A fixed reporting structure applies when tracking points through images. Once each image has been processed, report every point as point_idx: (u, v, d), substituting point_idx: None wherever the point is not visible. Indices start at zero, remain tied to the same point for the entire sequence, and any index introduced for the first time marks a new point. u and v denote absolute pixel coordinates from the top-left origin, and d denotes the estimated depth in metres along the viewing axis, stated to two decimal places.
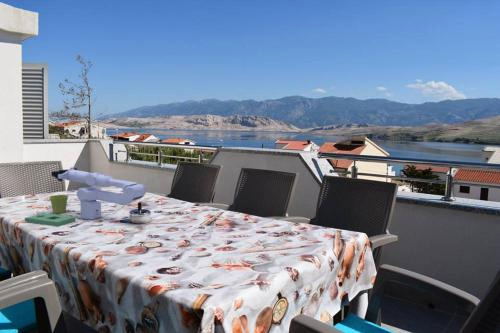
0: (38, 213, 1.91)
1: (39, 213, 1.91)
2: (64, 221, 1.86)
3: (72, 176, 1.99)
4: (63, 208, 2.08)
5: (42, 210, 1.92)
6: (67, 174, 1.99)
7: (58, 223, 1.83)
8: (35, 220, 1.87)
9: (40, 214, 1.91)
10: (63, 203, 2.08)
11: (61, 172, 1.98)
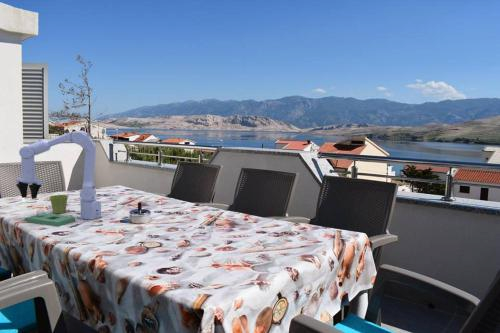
0: (38, 213, 1.91)
1: (39, 213, 1.91)
2: (64, 221, 1.86)
3: (33, 173, 1.92)
4: (63, 208, 2.08)
5: (42, 210, 1.92)
6: (32, 180, 1.92)
7: (58, 223, 1.83)
8: (35, 220, 1.87)
9: (40, 214, 1.91)
10: (63, 203, 2.08)
11: (32, 184, 1.90)
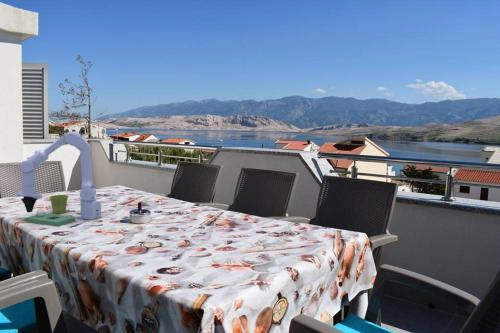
0: (38, 213, 1.91)
1: (39, 213, 1.91)
2: (64, 221, 1.86)
3: (33, 187, 1.93)
4: (63, 208, 2.08)
5: (42, 210, 1.92)
6: (32, 194, 1.92)
7: (58, 223, 1.83)
8: (35, 220, 1.87)
9: (40, 214, 1.91)
10: (63, 203, 2.08)
11: (28, 198, 1.92)
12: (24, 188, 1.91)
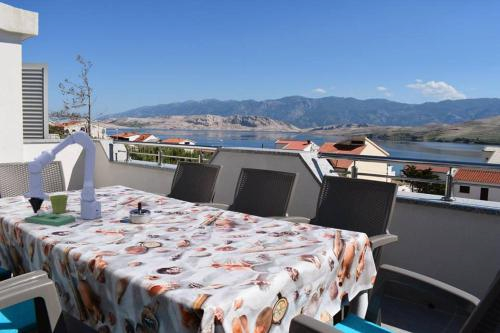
0: (38, 213, 1.91)
1: (40, 213, 1.91)
2: (64, 221, 1.86)
3: (40, 188, 1.91)
4: (63, 208, 2.08)
5: (42, 210, 1.92)
6: (39, 195, 1.91)
7: (58, 223, 1.83)
8: (35, 220, 1.87)
9: (40, 214, 1.91)
10: (63, 203, 2.08)
11: (35, 199, 1.91)
12: (31, 189, 1.89)
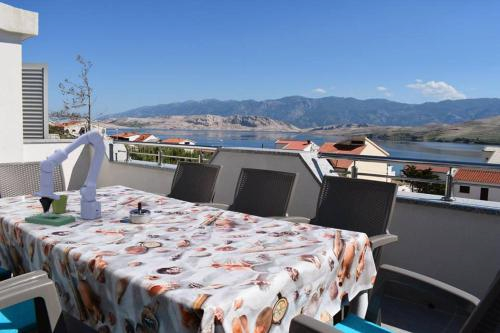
0: (42, 214, 1.90)
1: (42, 215, 1.90)
2: (64, 221, 1.86)
3: (51, 188, 1.88)
4: (63, 208, 2.08)
5: None
6: (50, 194, 1.88)
7: (58, 223, 1.83)
8: (35, 220, 1.87)
9: None
10: (63, 203, 2.08)
11: (45, 198, 1.88)
12: (42, 188, 1.87)
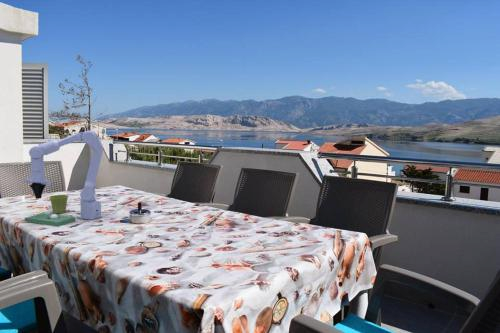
0: (51, 218, 1.89)
1: (52, 216, 1.89)
2: (64, 221, 1.86)
3: (42, 174, 1.92)
4: (63, 208, 2.08)
5: None
6: (41, 180, 1.91)
7: (58, 223, 1.83)
8: (35, 220, 1.87)
9: (53, 216, 1.89)
10: (63, 203, 2.08)
11: (37, 184, 1.91)
12: (33, 174, 1.90)
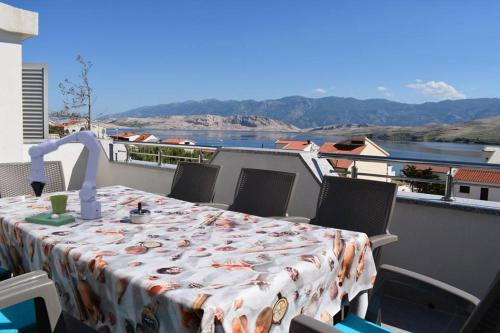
0: (52, 217, 1.89)
1: (53, 216, 1.89)
2: (64, 221, 1.86)
3: (42, 172, 1.96)
4: (63, 208, 2.08)
5: None
6: (41, 179, 1.95)
7: (58, 223, 1.83)
8: (35, 220, 1.87)
9: (55, 216, 1.89)
10: (63, 203, 2.08)
11: (37, 183, 1.95)
12: (33, 173, 1.94)
